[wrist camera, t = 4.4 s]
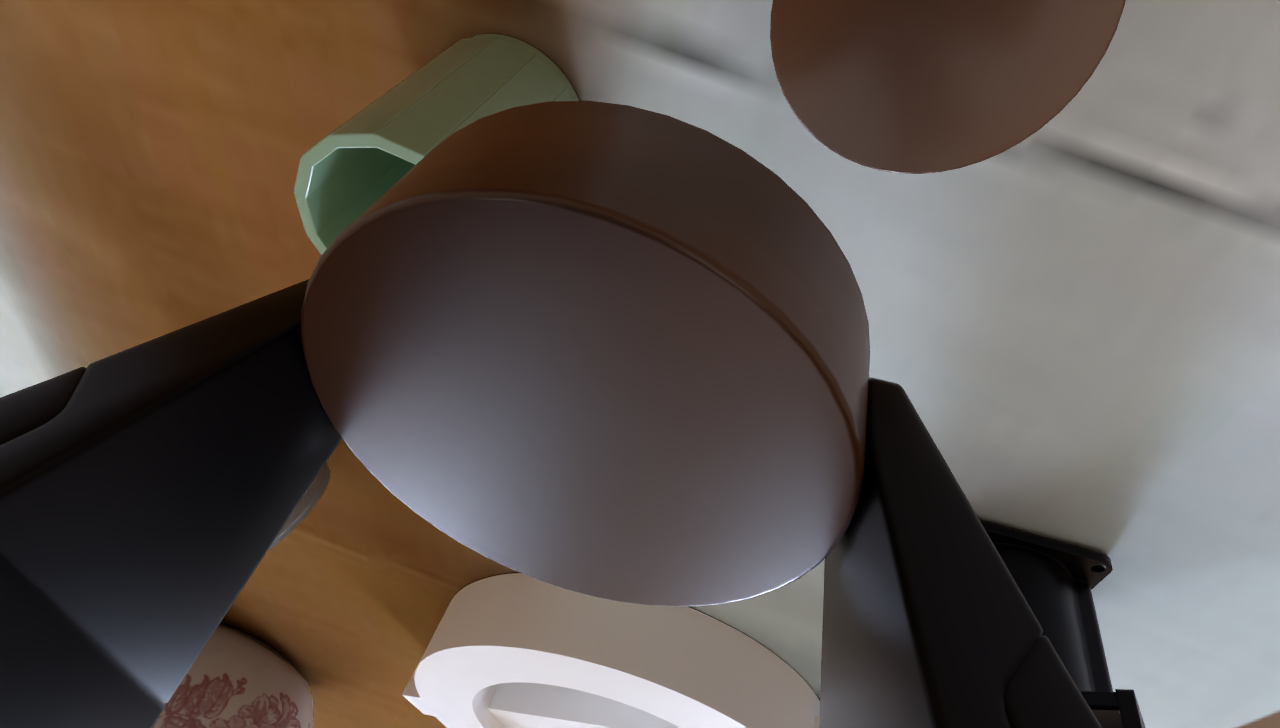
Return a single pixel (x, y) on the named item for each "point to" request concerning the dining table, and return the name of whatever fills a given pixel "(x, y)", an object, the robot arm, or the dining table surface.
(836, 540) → the dark brown wooden disc
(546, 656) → the ring with crossbar
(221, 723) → the chamber pot
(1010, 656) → the robot arm
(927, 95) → the middle chip
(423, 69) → the plastic cup
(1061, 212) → the dining table surface
